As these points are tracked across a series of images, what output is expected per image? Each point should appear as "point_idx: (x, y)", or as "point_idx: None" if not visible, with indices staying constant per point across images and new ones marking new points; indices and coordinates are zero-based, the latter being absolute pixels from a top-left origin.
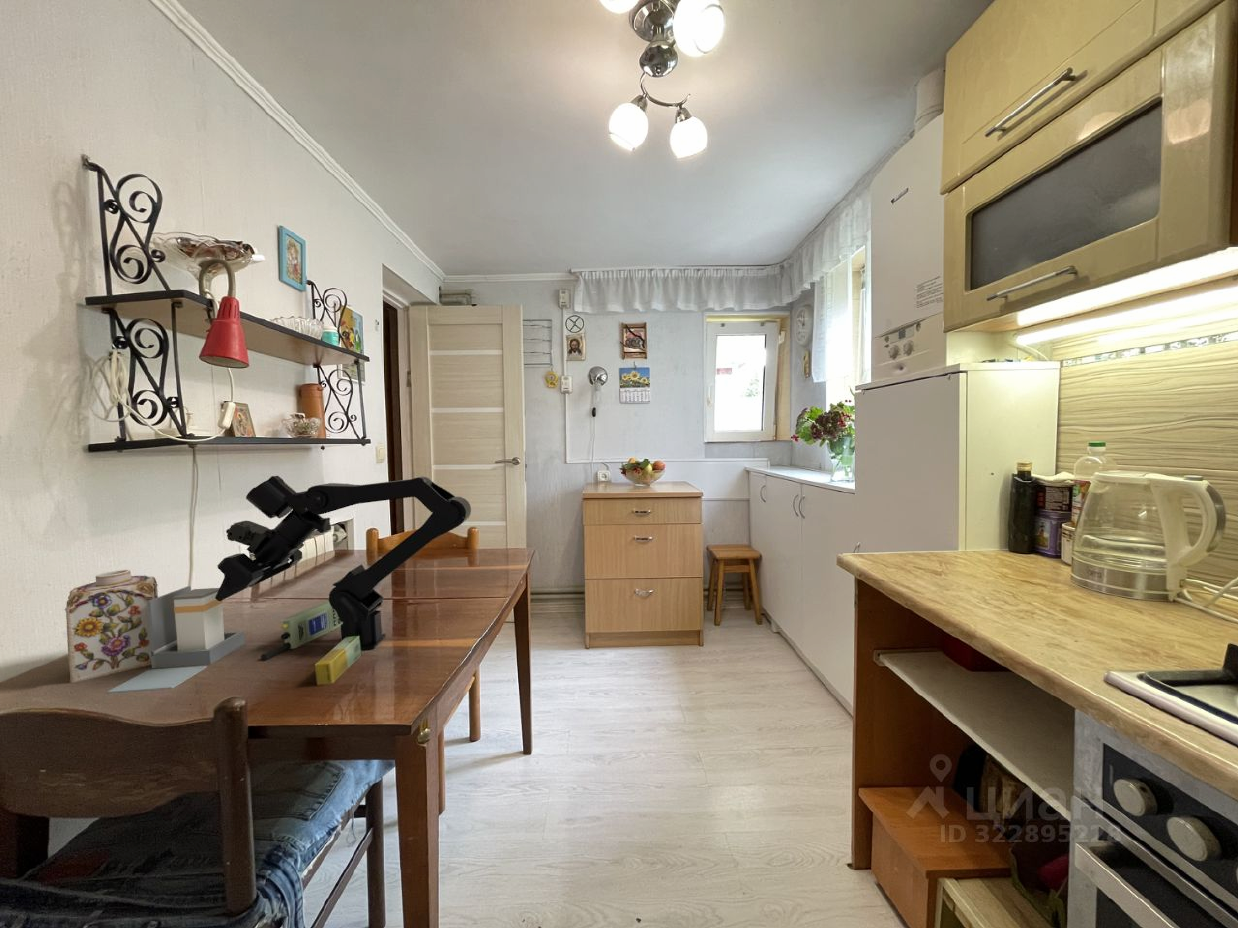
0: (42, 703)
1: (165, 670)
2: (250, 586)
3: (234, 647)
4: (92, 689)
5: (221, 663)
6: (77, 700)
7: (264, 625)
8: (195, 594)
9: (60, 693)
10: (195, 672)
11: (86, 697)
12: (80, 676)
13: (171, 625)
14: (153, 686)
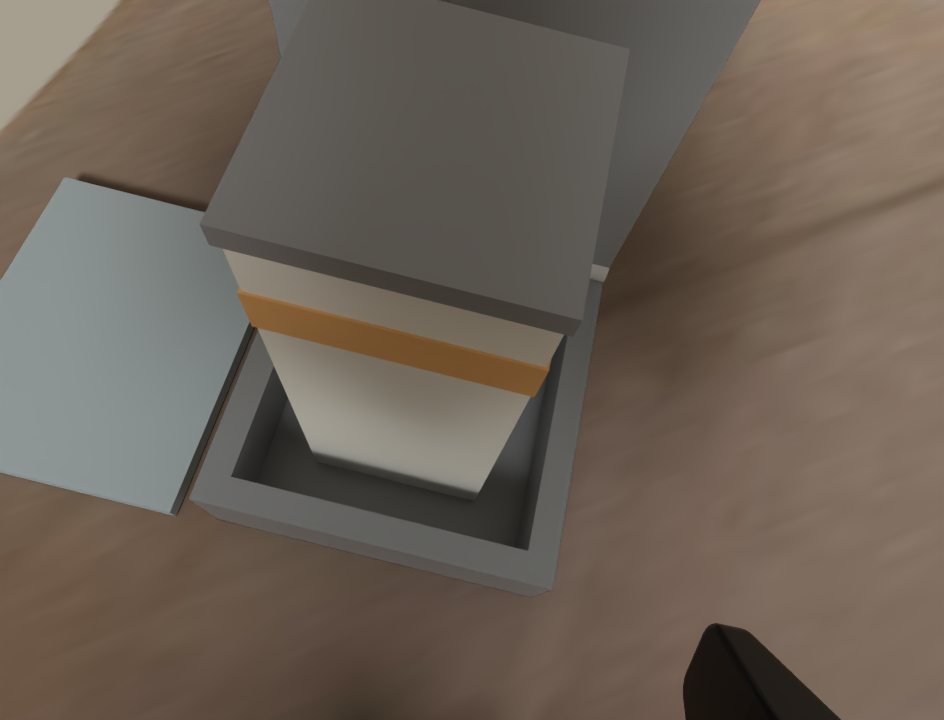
0: (145, 18)
1: (228, 312)
2: (685, 699)
3: (430, 570)
4: (201, 110)
5: (235, 569)
6: (92, 108)
7: (903, 585)
8: (327, 133)
9: (226, 30)
10: (80, 488)
11: (108, 124)
12: None
13: None
14: None
